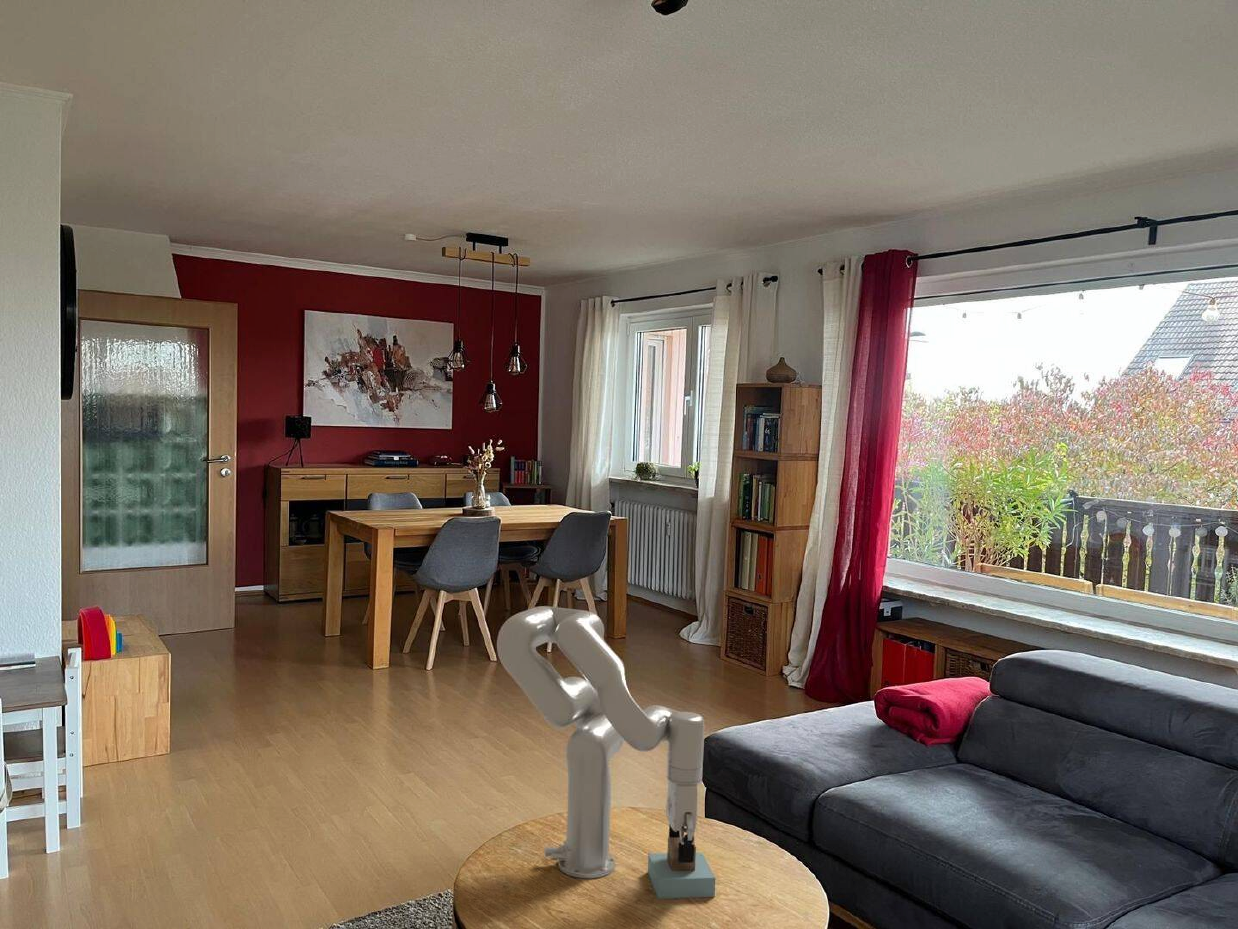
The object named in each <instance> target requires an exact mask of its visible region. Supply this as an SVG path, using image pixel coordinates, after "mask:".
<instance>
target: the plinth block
mask: <svg viewBox="0 0 1238 929" xmlns="http://www.w3.org/2000/svg"><path fill="white" fill-rule="evenodd" d="M647 861H648V862H647V873H648V874H647V875H648V876H649V879H650V881H651V883H652V884H651V885H652V887H653V889H654V891H655V894H656V897H657V899H658V900H659V899H661V900H662V899H681V898H682V899H688V898H693V899H694V898H695V899H696V898H715V897H716V896H715V895H716V876H715V875H714V872H713V870H712V868H711V867H710V865H709V863H708V861H707V858H706V857H705V855H704V853H703V852H696V859H695V871H671V868H670V866H669V864H668V861H667V853H665V852H664V853H648V860H647Z"/></svg>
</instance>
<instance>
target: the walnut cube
mask: <svg viewBox="0 0 1238 929" xmlns="http://www.w3.org/2000/svg"><path fill="white" fill-rule="evenodd" d="M679 843H680V837H678V838H669V837H668V838H667V861H668V864H669V866H670V868H671V871H695V859H696V853H697V846H696V844H695V843H694V861H693V862H692V863H679V861H678V849H679Z"/></svg>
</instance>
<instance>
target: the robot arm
mask: <svg viewBox="0 0 1238 929" xmlns="http://www.w3.org/2000/svg"><path fill="white" fill-rule="evenodd" d="M604 635H605V625H604V622H603V621H602V619H601V618H600V617H599V616H598V615H597V614H595V613H594V612H591V611H589V610H583V609H574V608H565V607H556V606H548V605H544V606H543V605H539V606H536V607H532V608H530V609H527V610H523V611H520V612H518V613H516V614H514V615H512V616H510V617H509V618H508V619H507V620H506V621H505V622H504V623H503V624H502V626H501V627H500V630H499V631H498V634H497V640H496V649H497V655H498V658H499V661H500V663H501V665H502V666H503V668H504V669H505V671H506V672H507V673H508V675H509V676H510V677H511V678H512V679H513V680H514V681H515V683H517V685H518V686H519V687H520V689H521V690H522V691H523V693H524V694H525V695H526V697H527V698H528V700H529V701H530V702H531V703H532V705H533V706H534V707H535V708H536V709H537V711H538V712H539V714H540V715H541V716H542V717H543V718H544V720H545V721H546V722H547V723H548V724H549V725H550V726H552V727H553V728H555V729H565V728H567V727H568V728H569V727H570V726H571V725H573V724H574V725H575V727H576V729H575V730H574V731H572V733H571V734H570V736H569V738H568V740H567V744H566V749H565V756H566V765H567V766H566V767H567V807H566V808H567V811H566V812H567V813H566V815H567V816H566V834H565V837H566V840H563V844H562V845H561V844H560V845H558V846H556V847H555V846H545V847H544V857H550V860H551V861H558V863H557V864H558V868H559V870H560V871H561V872H563V873H564V874H566V875H568V876H571V877H574V878H578V879H597V878H603V877H605V876H608V875H610V874H611V873H612V872H614V871H615V868H616V859H615V857H614V856H612V854H610V852H609V851H610V831H611V830H610V828H611V827H610V826H611V799H612V778H611V772H610V771H611V770H610V759H612V758H613V756H615V755H616V753H618V752H619V751H620V750H621V749H622V747H623V745H624V744H625V742H626V744H628V745H629V746H630V747H631V748H632V749H634V750H636V751H639V752H645V753H647V752H652V751H653V750H655V749H656V748H657V747H658V746H659V745H661V743H663V742H666V741H667V760H666V761H667V765H666V780H667V781H668V784H667V791H666V792H667V793H666V794H667V795H666V806H665V817H666V820H667V821H668V824H669V829H668V838H678V837H680V843H679V849H678V861H679V863H692V862H693V861H694V844H695V831H696V829H697V826H698V803H699V802H698V800H699V798H698V797H699V796H698V794H699V793H698V792H699V791H698V787H699V786H698V785H699V784H701V783H702V781H703V769H704V768H703V763H704V749H705V748H704V747H705V746H704V745H705V727H706V726H705V719H704V717H703V716H702V715H700V714H698V713H697V712H696V713H695V712H691V711H678V710H675V709H672V708H670V707H666V706H664V705H658V704H652V705H649V706H647V707H646V708H645V709H642V708H641V707H640V706H639V705H638V703H637V702H636V701H635V700H634V698H633V697H632V696H631V693H630V691H629V690H628V686H627V683H626V669H625V664H624V662H623V660H622V659H621V658H620V657H619V656H618V655H617V654H616V653H615V651H613V649H612V648H611V646H610V645H609V644H608V643H607V642H606V641H605V640H604ZM545 643H551V644H556V645H557V646H558V648H559V650H560V651H561V652H562V654H563V655H564V656H565V657H566V658H567V659H568V660H569V661H570V662H571V663H572V665H573V666H574V668H576V670H578V672H579V673H580V674H581V675H582V676H583V677H584V678H582V677H578V676H569V677H566V678H563V677H562V675H561V674H560V673H559V672H558V671H557V670H556V668H554V666H553V665H552V663H551V662H550V661H549V660H548V659H547V658H545V657H544V656H543V655H541V654H539V652H538V650H537V649H536V648H537V647H539V646H542V645H544V644H545ZM685 833H686V834H685Z"/></svg>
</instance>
